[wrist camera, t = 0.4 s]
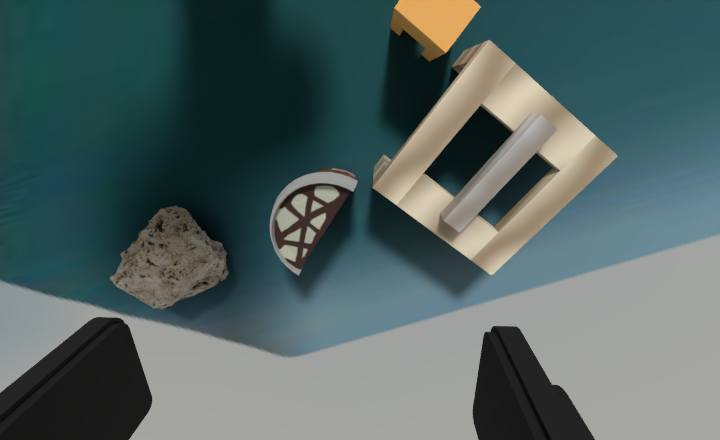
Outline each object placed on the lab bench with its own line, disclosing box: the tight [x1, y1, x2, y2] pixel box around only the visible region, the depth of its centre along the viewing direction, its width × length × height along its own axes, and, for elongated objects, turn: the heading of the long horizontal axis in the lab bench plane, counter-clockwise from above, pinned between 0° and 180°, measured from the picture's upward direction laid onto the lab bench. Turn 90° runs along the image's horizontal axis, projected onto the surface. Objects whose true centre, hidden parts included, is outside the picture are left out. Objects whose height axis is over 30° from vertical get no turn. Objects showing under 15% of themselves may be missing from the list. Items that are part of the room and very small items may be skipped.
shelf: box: [373, 40, 617, 275], centre depth 35 cm, size 16×16×11 cm
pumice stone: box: [110, 206, 229, 310], centre depth 43 cm, size 14×12×8 cm
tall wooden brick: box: [391, 0, 480, 61], centre depth 31 cm, size 5×4×10 cm
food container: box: [270, 168, 358, 276], centre depth 38 cm, size 12×6×10 cm, turn 148°
